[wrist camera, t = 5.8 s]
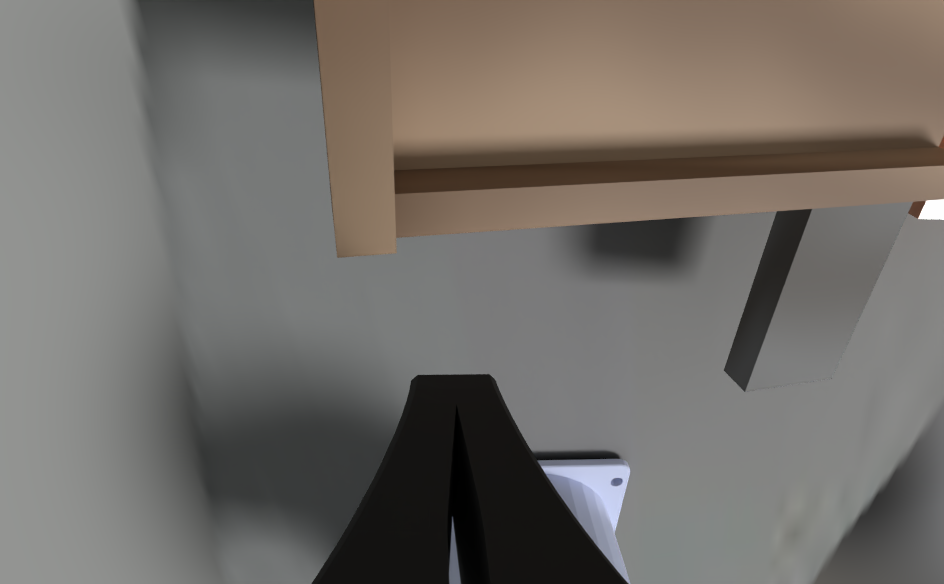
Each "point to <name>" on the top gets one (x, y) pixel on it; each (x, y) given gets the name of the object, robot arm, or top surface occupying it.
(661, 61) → the lever board
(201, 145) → the top surface
